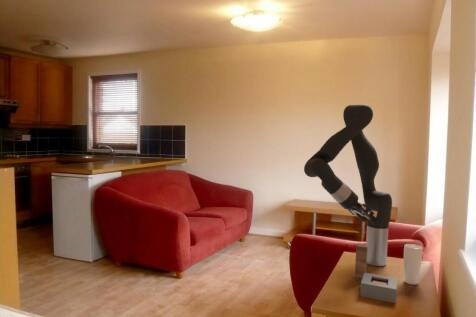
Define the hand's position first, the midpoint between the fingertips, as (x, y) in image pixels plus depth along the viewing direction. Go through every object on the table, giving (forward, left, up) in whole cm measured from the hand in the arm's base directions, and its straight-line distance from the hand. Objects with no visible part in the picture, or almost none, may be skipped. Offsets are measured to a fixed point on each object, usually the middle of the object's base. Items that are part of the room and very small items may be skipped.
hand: (370, 221), depth 159 cm
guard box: (+16, +5, -23) cm, 29 cm away
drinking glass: (-2, +16, -24) cm, 29 cm away
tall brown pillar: (+4, -3, -23) cm, 24 cm away
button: (+16, +5, -21) cm, 27 cm away
